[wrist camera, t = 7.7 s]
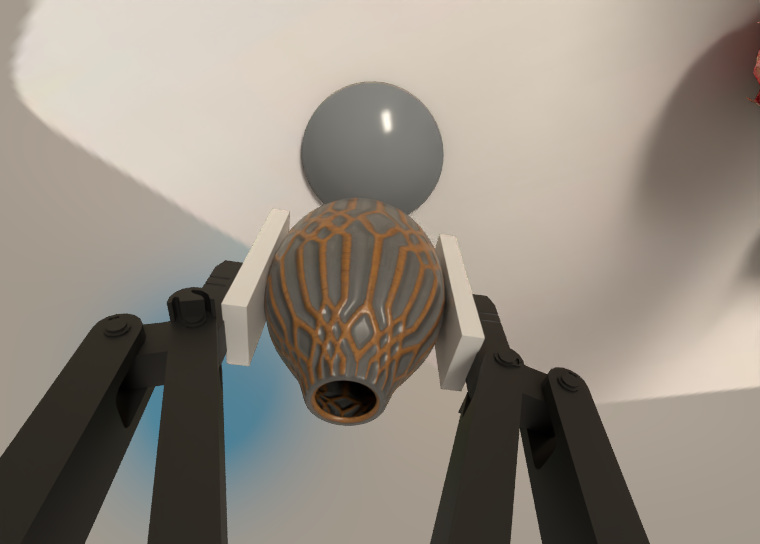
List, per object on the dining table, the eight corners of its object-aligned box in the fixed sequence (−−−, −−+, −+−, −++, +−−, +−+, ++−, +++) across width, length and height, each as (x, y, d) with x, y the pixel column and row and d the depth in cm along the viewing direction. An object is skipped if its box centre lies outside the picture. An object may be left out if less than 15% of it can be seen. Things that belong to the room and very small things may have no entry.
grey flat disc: (307, 68, 25) (305, 69, 24) (459, 96, 26) (460, 98, 25) (300, 208, 31) (298, 212, 30) (424, 228, 31) (425, 231, 31)
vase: (352, 140, 16) (322, 263, 8) (465, 240, 18) (516, 400, 11) (259, 248, 19) (180, 406, 11) (368, 321, 21) (358, 486, 14)
